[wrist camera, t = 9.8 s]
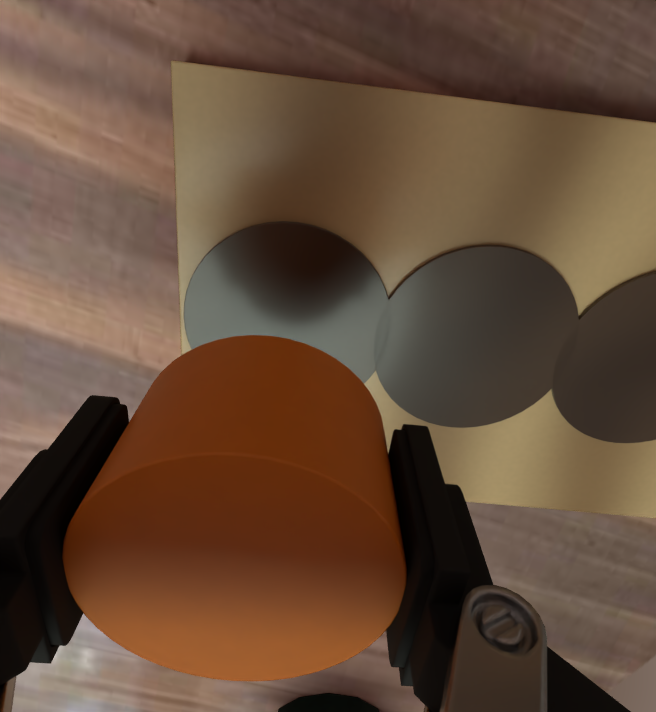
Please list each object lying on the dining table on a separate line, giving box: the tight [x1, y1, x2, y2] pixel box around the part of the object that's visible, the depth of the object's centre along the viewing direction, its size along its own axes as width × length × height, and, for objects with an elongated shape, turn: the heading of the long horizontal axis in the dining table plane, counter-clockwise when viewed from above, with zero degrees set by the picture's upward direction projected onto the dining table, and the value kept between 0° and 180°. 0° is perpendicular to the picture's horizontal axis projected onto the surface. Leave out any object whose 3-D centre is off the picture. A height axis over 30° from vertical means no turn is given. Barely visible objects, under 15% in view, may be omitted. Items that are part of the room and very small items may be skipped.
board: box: [171, 60, 656, 518], centre depth 19 cm, size 22×16×2 cm
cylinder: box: [62, 335, 407, 681], centre depth 10 cm, size 6×6×4 cm
